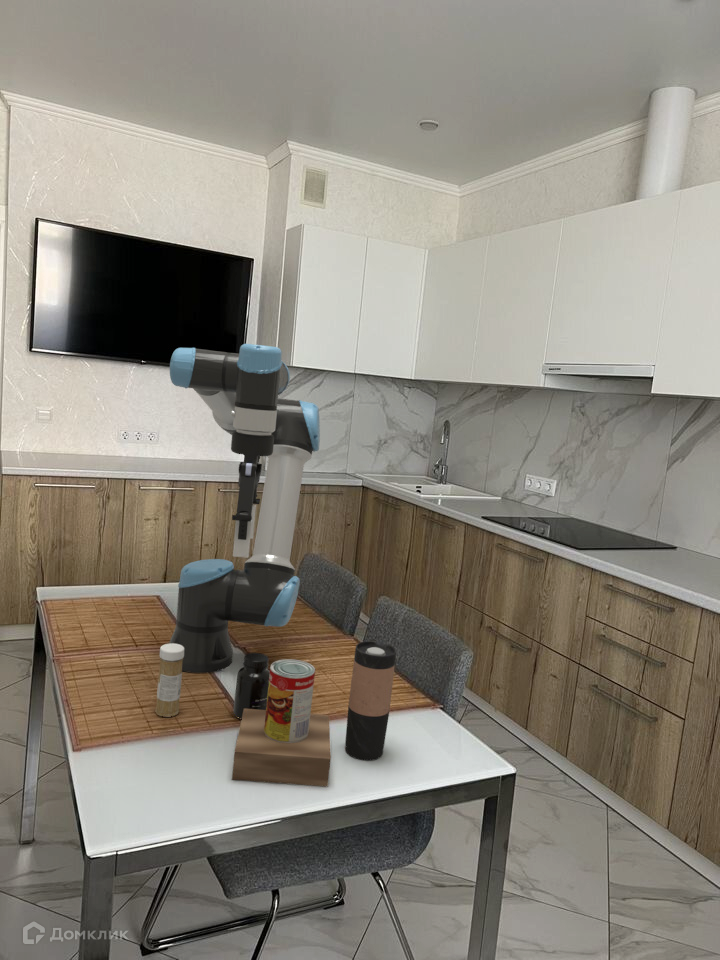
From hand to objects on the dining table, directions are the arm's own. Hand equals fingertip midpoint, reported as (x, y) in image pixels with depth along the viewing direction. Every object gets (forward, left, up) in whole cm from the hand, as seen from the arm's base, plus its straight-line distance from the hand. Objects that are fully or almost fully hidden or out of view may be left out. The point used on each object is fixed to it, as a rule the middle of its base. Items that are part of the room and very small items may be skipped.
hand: (243, 546), depth 136 cm
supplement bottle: (-6, +4, -36) cm, 36 cm away
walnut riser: (+10, +11, -35) cm, 38 cm away
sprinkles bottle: (-4, -12, -36) cm, 38 cm away
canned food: (+10, +11, -31) cm, 34 cm away
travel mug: (+5, +26, -36) cm, 44 cm away
